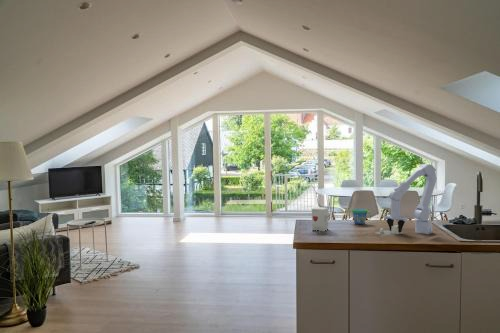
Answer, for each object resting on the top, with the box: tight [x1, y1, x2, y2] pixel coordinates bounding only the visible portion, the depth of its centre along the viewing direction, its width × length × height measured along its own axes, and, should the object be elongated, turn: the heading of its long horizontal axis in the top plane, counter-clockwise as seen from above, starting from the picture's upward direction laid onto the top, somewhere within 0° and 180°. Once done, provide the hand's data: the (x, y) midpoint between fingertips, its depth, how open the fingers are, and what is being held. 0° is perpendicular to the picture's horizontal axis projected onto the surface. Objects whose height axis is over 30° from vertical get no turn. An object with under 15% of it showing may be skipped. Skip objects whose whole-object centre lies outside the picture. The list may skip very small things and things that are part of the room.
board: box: [375, 228, 403, 237], centre depth 266 cm, size 13×13×4 cm
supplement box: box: [311, 206, 329, 232], centre depth 287 cm, size 9×9×15 cm
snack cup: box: [348, 208, 372, 225], centre depth 309 cm, size 16×10×10 cm
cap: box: [391, 224, 400, 235], centre depth 266 cm, size 5×5×4 cm
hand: (395, 231), depth 266 cm, fingers open, 5 cm apart
